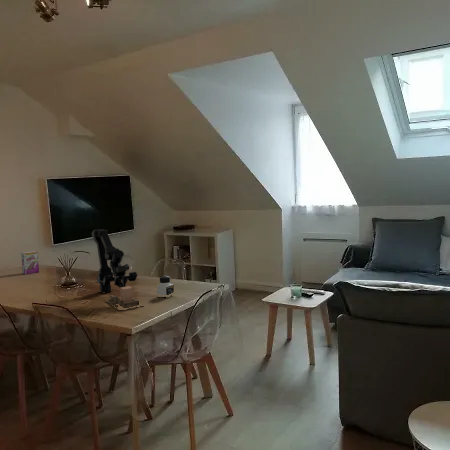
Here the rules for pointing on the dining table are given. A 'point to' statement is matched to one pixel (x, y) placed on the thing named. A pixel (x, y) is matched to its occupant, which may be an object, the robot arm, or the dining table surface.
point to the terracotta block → (126, 294)
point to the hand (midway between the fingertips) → (124, 290)
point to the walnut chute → (115, 300)
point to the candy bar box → (30, 262)
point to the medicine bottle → (165, 286)
